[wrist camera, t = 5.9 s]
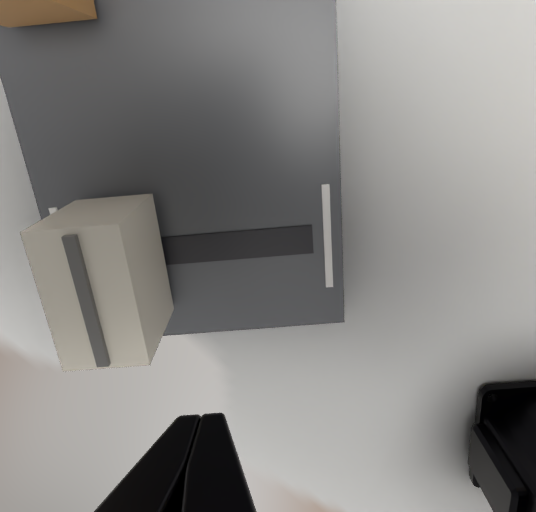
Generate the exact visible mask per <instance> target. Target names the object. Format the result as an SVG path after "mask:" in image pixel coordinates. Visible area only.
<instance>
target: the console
mask: <svg viewBox="0 0 536 512" xmlns="http://www.w3.org/2000/svg"><path fill="white" fill-rule="evenodd" d="M94 5H95V9H96V14H97V19H91V20H81V21H71V22H61V23H51V24H41V25H31V26H21V27H11V28H9V27H5V26H1V25H0V77H1V80H2V83H3V87H4V90H5V94H6V97H7V101H8V104H9V108H10V111H11V115H12V118H13V122H14V125H15V129H16V132H17V136H18V139H19V143H20V146H21V150H22V153H23V156H24V160H25V163H26V167H27V170H28V174H29V177H30V181H31V184H32V188H33V191H34V195H35V198H36V202H37V205H38V209H39V212H40V216H41V219H44V218H45V217H47V216H49V215H51V214H52V213H54V212H56V211H58V210H59V209H61V208H63V207H64V206H66V205H68V204H70V203H71V202H73V201H75V200H82V199H94V198H105V197H117V196H129V195H140V194H153V199H154V204H155V210H156V215H157V220H158V226H159V231H160V236H161V242H162V247H163V252H164V258H165V263H166V269H167V274H168V279H169V285H170V290H171V295H172V301H173V306H174V310H173V312H172V315H171V317H170V319H169V322H168V324H167V326H166V329H165V331H164V333H163V336H166V335H180V334H193V333H206V332H219V331H233V330H246V329H259V328H273V327H286V326H299V325H312V324H326V323H339V322H344V290H343V251H342V213H341V174H340V136H339V98H338V59H337V21H336V0H94Z"/></svg>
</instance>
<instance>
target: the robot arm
mask: <svg viewBox="0 0 536 512" xmlns="http://www.w3.org/2000/svg"><path fill="white" fill-rule="evenodd" d="M490 394H493V395H492V396H489V395H490ZM488 396H489V397H488ZM468 465H469V467H470V475H469V476H470V479H471V481H472V483H473V484H474V486H476V487H480V488H481V489H482V491H483V493H484V495H485V497H486V499H487V500H488V502H489V504H490V506H491V508H492V510H493V512H536V381H532V382H518V383H503V384H489V385H485V386H484V387H482V388H481V389H480V390H479V393H478V402H477V411H476V420H475V424H474V425H473V427H472V428H471V437H470V447H469V456H468ZM94 512H256V509H255V506H254V503H253V500H252V497H251V494H250V491H249V488H248V485H247V482H246V479H245V476H244V473H243V470H242V466H241V463H240V460H239V457H238V454H237V451H236V448H235V445H234V442H233V439H232V436H231V433H230V430H229V427H228V424H227V421H226V418H225V415H224V414H223V413H211V414H204V415H202V417H201V416H199V415H183V416H179V417H178V418H176V419H175V420H174V422H173V423H172V424H171V425H170V426H169V427H168V428H167V430H166V431H165V432H164V433H163V434H162V435H161V436H160V437H159V439H158V440H157V441H156V442H155V443H154V444H153V446H152V447H151V448H150V449H149V450H148V451H147V453H146V454H145V455H144V456H143V457H142V458H141V459H140V460H139V461H138V462H137V463H136V465H135V466H134V467H133V468H132V469H131V470H130V472H129V473H128V474H127V475H126V476H125V477H124V478H123V479H122V480H121V482H120V483H119V484H118V485H117V486H116V487H115V488H114V490H113V491H112V492H111V493H110V494H109V495H108V496H107V497H106V499H105V500H104V501H103V502H102V503H101V504H100V505H99V506H98V508H97V509H96V510H95V511H94Z"/></svg>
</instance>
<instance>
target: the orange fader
mask: <svg viewBox="0 0 536 512" xmlns="http://www.w3.org/2000/svg"><path fill="white" fill-rule="evenodd" d="M91 19H97V14H96V9H95V5H94V0H0V25H1V26H5V27H9V28H11V27H21V26H31V25H41V24H51V23H61V22H71V21H81V20H91Z"/></svg>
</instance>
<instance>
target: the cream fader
mask: <svg viewBox="0 0 536 512" xmlns="http://www.w3.org/2000/svg"><path fill="white" fill-rule="evenodd" d="M20 235H21V238H22V241H23V244H24V247H25V251H26V254H27V257H28V260H29V264H30V267H31V270H32V273H33V276H34V280H35V283H36V286H37V289H38V293H39V296H40V299H41V302H42V306H43V309H44V312H45V315H46V318H47V322H48V325H49V328H50V331H51V335H52V338H53V341H54V344H55V347H56V351H57V354H58V357H59V360H60V364H61V367H62V370H63V372H64V371H77V370H91V369H104V368H118V367H131V366H146V365H150V364H151V361H152V359H153V357H154V355H155V352H156V350H157V348H158V345H159V343H160V341H161V338H162V336H163V333H164V331H165V329H166V326H167V324H168V322H169V319H170V317H171V315H172V312H173V310H174V306H173V301H172V295H171V290H170V285H169V279H168V274H167V269H166V263H165V258H164V252H163V247H162V242H161V236H160V231H159V226H158V220H157V215H156V210H155V204H154V199H153V194H140V195H129V196H117V197H105V198H94V199H82V200H75V201H73V202H71V203H70V204H68V205H66V206H64V207H63V208H61V209H59V210H58V211H56V212H54V213H52V214H51V215H49V216H47V217H45V218H44V219H42V220H40V221H39V222H37V223H35V224H33V225H32V226H30V227H28V228H26V229H25V230H23V231H21V232H20Z"/></svg>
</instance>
